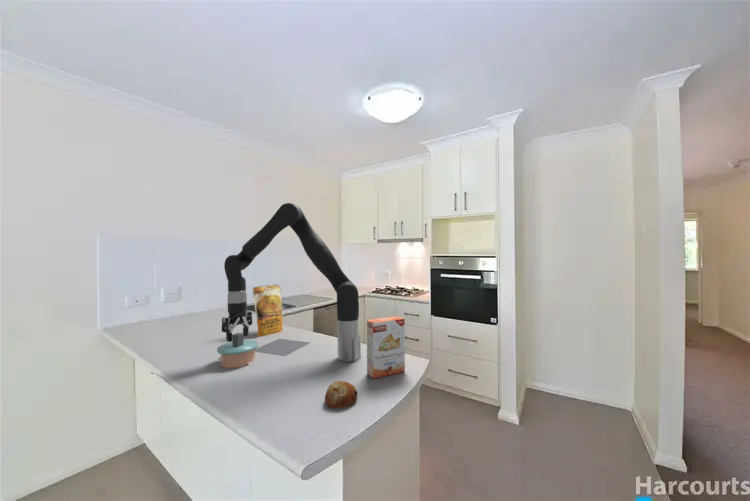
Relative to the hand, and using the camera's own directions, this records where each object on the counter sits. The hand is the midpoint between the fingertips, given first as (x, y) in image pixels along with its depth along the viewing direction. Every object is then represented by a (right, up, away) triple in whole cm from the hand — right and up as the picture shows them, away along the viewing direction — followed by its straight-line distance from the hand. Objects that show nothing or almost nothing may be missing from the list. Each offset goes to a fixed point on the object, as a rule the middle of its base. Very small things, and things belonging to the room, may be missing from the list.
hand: (237, 338), depth 129 cm
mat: (+14, -10, +17) cm, 24 cm away
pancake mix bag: (-1, -10, +42) cm, 43 cm away
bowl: (0, -10, 0) cm, 10 cm away
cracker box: (+64, -9, -14) cm, 66 cm away
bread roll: (+49, -10, -34) cm, 60 cm away
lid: (0, -4, 0) cm, 4 cm away
